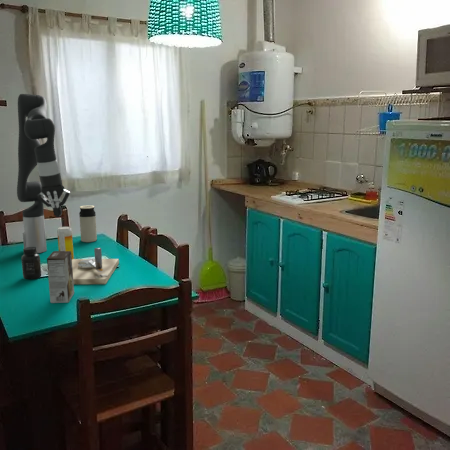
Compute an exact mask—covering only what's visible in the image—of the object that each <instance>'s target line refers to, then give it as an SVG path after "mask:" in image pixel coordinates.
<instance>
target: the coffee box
mask: <svg viewBox="0 0 450 450" xmlns="http://www.w3.org/2000/svg"><path fill="white" fill-rule="evenodd" d="M46 263H47V276H48V277H47V278H48V288H49V289H48V290H49V300H50V303H51V304H59V303H61V304H63V303H66V304H67V303H70V301H71V299H72V298H73V296H74V294H75V286H74V285H75V284H74V283H73V269H72V257H71V251H59V250H54V251H52V252H51V253H50V255H48V257H47V258H46Z"/></svg>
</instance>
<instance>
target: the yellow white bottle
mask: <svg viewBox="0 0 450 450" xmlns="http://www.w3.org/2000/svg"><path fill="white" fill-rule="evenodd" d="M57 243H58V244H57V247H58V251H71V257H72V259H75V258H74V257H75V255H74V245H73V244H74V243H73V230H72V227H71V226H60V227H58V228H57Z"/></svg>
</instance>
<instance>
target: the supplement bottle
mask: <svg viewBox="0 0 450 450" xmlns="http://www.w3.org/2000/svg"><path fill="white" fill-rule="evenodd" d="M22 251H23V255H21V258H20V259H21V270H22V277H23V279H25V280H30V281H31V280H36V279H39V278H41V277H42V265H41V257H40V253H36V252H37V250H36V247H26V248H24V247H23V249H22Z"/></svg>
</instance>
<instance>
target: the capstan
mask: <svg viewBox="0 0 450 450" xmlns="http://www.w3.org/2000/svg"><path fill="white" fill-rule="evenodd" d="M93 251H94V258H87V259H88V260H82V261H80V262H79V263H78V267H79V268H81V269H94V268H95V269H96V270H97V271H98V272H101V271H103V269H102V259H103V257H102V248H101V247H95V248H94V250H93Z"/></svg>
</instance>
